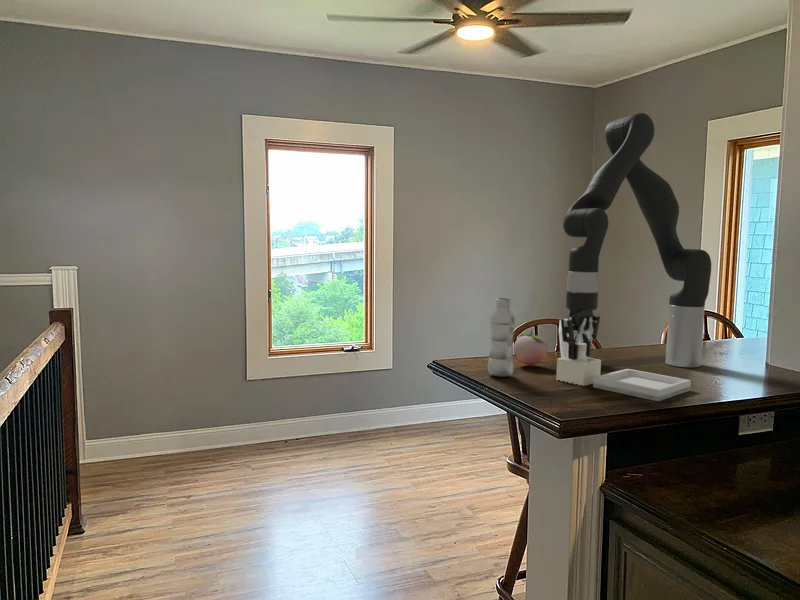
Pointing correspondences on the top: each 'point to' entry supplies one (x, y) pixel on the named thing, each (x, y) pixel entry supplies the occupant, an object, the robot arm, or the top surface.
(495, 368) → the plastic bottle
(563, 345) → the cup
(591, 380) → the holder
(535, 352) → the decorative fruit
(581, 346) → the pepper shaker
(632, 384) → the tray
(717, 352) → the top surface
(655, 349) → the top surface
